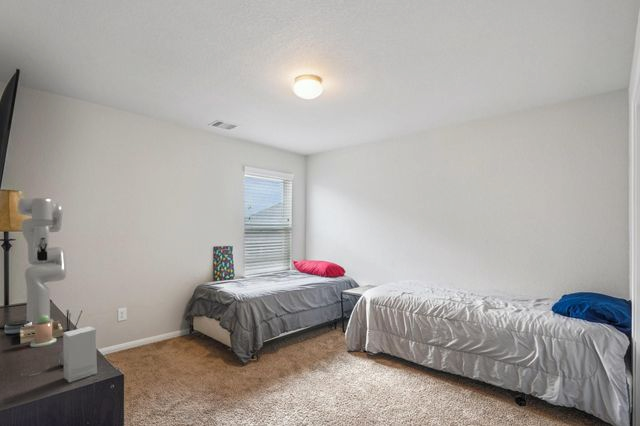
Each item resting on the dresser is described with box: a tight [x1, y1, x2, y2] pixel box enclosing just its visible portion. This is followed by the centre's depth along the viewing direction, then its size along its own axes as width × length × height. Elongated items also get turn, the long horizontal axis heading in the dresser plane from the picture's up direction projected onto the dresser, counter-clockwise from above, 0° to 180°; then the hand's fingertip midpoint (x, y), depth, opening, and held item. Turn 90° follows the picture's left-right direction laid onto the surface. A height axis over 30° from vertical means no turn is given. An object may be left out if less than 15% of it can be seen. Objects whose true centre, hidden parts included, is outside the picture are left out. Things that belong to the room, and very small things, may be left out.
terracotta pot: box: [35, 315, 53, 344], centre depth 149 cm, size 6×6×12 cm
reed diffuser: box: [58, 309, 83, 366], centre depth 125 cm, size 10×7×20 cm
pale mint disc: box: [29, 337, 57, 348], centre depth 148 cm, size 9×9×1 cm
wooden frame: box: [19, 320, 64, 345], centre depth 159 cm, size 16×15×4 cm
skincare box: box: [62, 326, 98, 383], centre depth 114 cm, size 8×7×16 cm
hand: (42, 259), depth 158 cm, fingers open, 9 cm apart
